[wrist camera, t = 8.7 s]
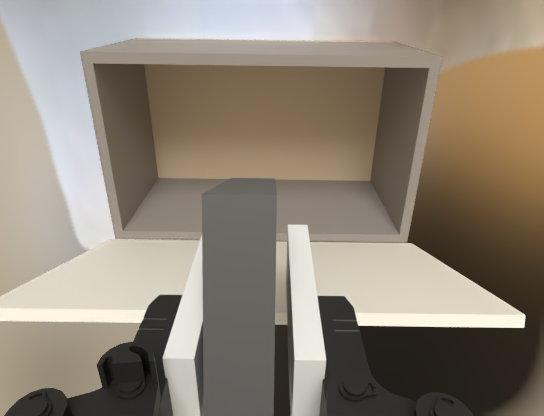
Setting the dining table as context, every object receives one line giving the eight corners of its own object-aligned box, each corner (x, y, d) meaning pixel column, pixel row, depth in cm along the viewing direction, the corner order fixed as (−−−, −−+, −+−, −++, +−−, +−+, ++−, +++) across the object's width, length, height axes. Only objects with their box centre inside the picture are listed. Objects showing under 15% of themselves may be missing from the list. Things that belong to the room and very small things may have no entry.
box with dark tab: (107, 165, 27) (111, 253, 28) (-245, 187, 9) (-206, 446, 9) (416, 169, 27) (410, 257, 28) (722, 201, 9) (681, 457, 9)
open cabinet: (154, 181, 37) (115, 238, 28) (135, 38, 31) (79, 51, 22) (374, 184, 37) (406, 242, 28) (394, 41, 31) (442, 56, 22)
